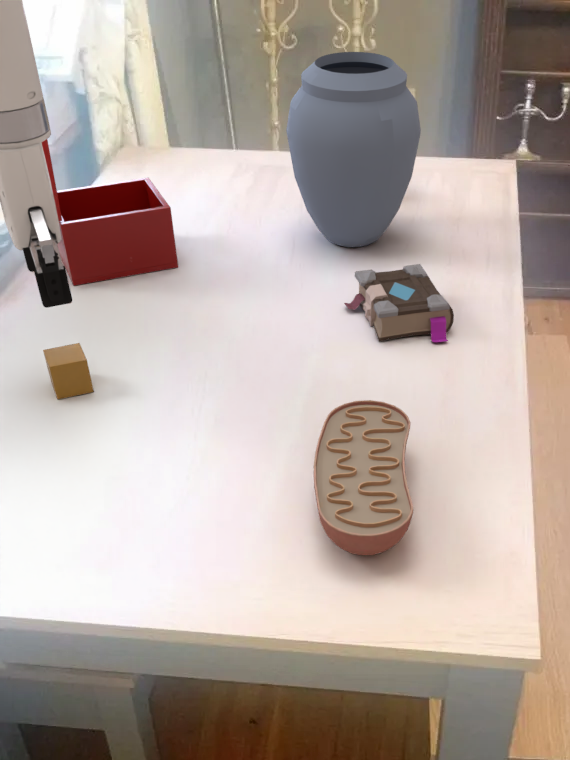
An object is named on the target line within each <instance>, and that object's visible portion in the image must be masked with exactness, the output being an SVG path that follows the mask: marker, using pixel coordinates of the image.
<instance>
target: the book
mask: <svg viewBox="0 0 570 760" xmlns="http://www.w3.org/2000/svg"><path fill="white" fill-rule="evenodd" d="M354 278H355V279H356V280H357V283H358V293H357V294H355V296H354V297H353V300H351V301H350V302H343V304H344V305H345V306H346V308H347V309H348V310H353V311H354V310H357V309H358V308H359V307H360V308H361V309H362V311H363V312H364V317H365V318H366V320H368V323H369V326H370V328H371V327H373V329H374V332H375V334H376V338H377V341H378V342H379V343H380V342H384V341H389V340H395V339H400V338H406V337H407V338H408V337H410V336H411V337H413V336H423V335H424V336H425V335H430V340H431V342H432V343H443V342H449V339H447V334H448V332H449V331H450V330H451V328H452V326H453V324H454V319H455V318H454V317H455V314H454V310H453V307H452V306H451V305H450V303H449V302H448V300H447V299H446V298H444V296H443V295H442V294H441V293H440V292H439V291H438V289H437V287H436V286H435V285H434V283H433V281H432V280H431V278H430V276H429V275H428V273H427V272H426V271H425V269H424V267H423V265H422V264H421V263H417V264H416V263H415V264H408V265H404V266H403V267H402V268H401V269H396V270H395V269H394V270H388V271H378V272H376V271H375V270H373V269H362V270H356V271H354Z"/></svg>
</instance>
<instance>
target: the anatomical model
mask: <svg viewBox="0 0 570 760" xmlns="http://www.w3.org/2000/svg"><path fill="white" fill-rule="evenodd" d="M411 423H412V422H411V420H410V417H409V416H408V415H407V413H406V412H404V411H403V410H402V409H401V408H399V407H398V406H396V405H394V404H391V403H387V402H385V401H379V400H373V399H372V400H371V399H367V400H366V399H365V400H353V401H349V402H345V403H342V404H341V405H339V406H337V407H334V409H332V410H331V411H330V412H329V413H328V414H327V416H326V418H325V420H324V422H323V424H322V428H321V430H320V433H319V437H318V441H317V444H316V448H315V454H314V459H313V488H314V493H315V494H314V495H315V500H316V506H317V511H318V517H319V521H320V524H321V526H322V528H323V530H324V532H325V534H326V536H327V537H328V538H329V540H330V541H331V542H332V543H333V544H334V545H335V546H337V547H338V548H339V549H341V550H344V551H345V552H348V553H350V554H353V555H358V556H375V555H378V554H381V553H384V552H386V551H389V550H390V549H392V548H393V547H395V546H396V545H397V544H398V543H399V542H400V541H401V540H402V538H403V537H404V536H405V535H406V533H407V531H408V529H409V527H410V524H411V521H412V518H413V514H414V504H413V500H412V497H411V493H410V490H409V485H408V481H407V475H406V468H405V467H406V466H405V465H406V463H405V461H406V449H407V443H408V439H409V435H410V430H411Z"/></svg>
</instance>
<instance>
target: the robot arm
mask: <svg viewBox="0 0 570 760" xmlns="http://www.w3.org/2000/svg"><path fill="white" fill-rule="evenodd" d="M27 20H28V19H27V16H26V11H25V6H24V2H23V0H0V206H1V211H2V215H3V220H4V223H5V226H6V229H7V232H8V234H9V236H10V239H11V241H12V244H13V246H14V248H15V249H17V250H18V251H22V253H23V256H24V259H25V263H26V267H27V269H28V271H29V272H31V273H34V277H35V281H36V284H37V289H38V293H39V297H40V300H41V304H42V306H43V307H44V308H53V307H58V306H63V305H68V304H71V303H73V295H72V290H71V286H70V283H69V278H68V273H67V271H66V269H65V266H64V264H63V262H62V260H61V256H60V253H59V250H58V246H57V244H58V243H59V242H60V241H61V232H60V226H59V221H58V215H57V210H56V205H55V200H54V196H53V191H52V186H51V182H50V177H49V173H48V168H47V164H46V160H45V155H44V151H43V147H42V143H41V142H43V141H45V140H48V139H49V138H51V135H52V130H51V126H50V120H49V117H48V112H47V108H46V103H45V98H44V94H43V89H42V85H41V84H42V83H41V80H40V75H39V71H38V65H37V62H36V57H35V52H34V47H33V43H32V37H31V34H30V29H29V25H28V21H27Z"/></svg>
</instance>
